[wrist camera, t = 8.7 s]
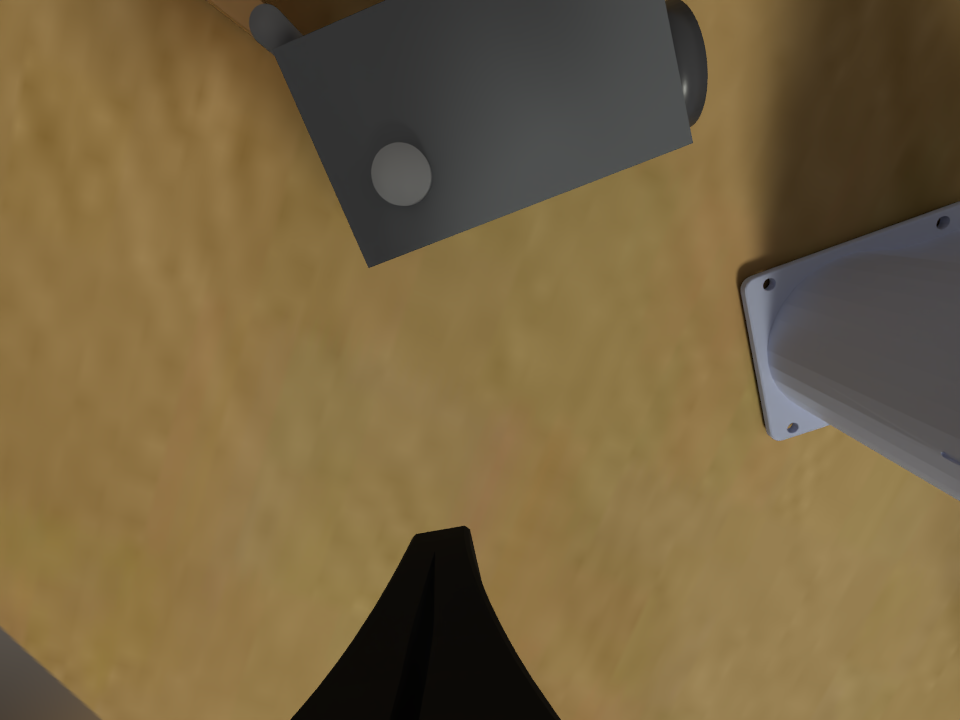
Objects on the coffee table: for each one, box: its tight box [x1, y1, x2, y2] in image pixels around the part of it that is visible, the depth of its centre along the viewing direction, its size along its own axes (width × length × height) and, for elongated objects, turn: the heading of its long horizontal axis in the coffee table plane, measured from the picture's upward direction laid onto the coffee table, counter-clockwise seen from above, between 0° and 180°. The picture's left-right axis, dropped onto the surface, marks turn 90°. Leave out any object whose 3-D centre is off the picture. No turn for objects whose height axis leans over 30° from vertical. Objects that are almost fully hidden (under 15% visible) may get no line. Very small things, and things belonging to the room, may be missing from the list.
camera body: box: [272, 0, 708, 268], centre depth 14 cm, size 11×6×6 cm, turn 110°
